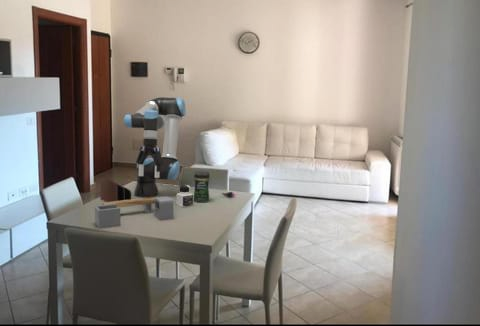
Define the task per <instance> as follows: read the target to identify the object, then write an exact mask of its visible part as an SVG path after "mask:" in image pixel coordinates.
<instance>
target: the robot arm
mask: <svg viewBox="0 0 480 326" xmlns="http://www.w3.org/2000/svg"><path fill="white" fill-rule="evenodd" d="M186 114H187V113H186V103H185V101H184V99H183V98H181V97H162V96H160V97H155V98H152V99H150V100H148V101H147V102H146V103H145V104H144V106H142V108H140V109H139V110H137V111H136V112H134V113H133V114H125V116H124V117H123V124H124V126H125V128H131V129H143V139H142V140H143V143H142V144H143V146H140V149H139V152H138V156H137V158H136V162H135V163H136V185H135V188H134V192H133V193H134V196H135V197H138V198H151V197H153V198H155V197H156V196H157V197H158V196H159V189H158V186H157V183H156V180H162V181H163V180H164V181H165V180H166V181H167V180H168V181H174V180H175V181H176V179H177V178H178V177H179V174H180V169H181V164H180V162H179V159H178V158H177V149H178V148H177V147H178V138H179V128H180V121H182V120H183V117H185V116H186ZM162 116H163V117H162ZM162 128H164V137H163V146H162V153H161V148H160V147H157V146H158V136H159V135H158V132H159V131H158V130H160V129H162ZM148 156H150V157H148Z"/></svg>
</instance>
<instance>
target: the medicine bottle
mask: <svg viewBox="0 0 480 326" xmlns="http://www.w3.org/2000/svg"><path fill="white" fill-rule="evenodd" d="M176 206H178V207H181V208H184V209H185V208H188V207H189V208H190V207H193V206H194V193H191V186H190V185H188V184H183V185H180V186H179V192H178V193H176Z"/></svg>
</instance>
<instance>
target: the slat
mask: <svg viewBox="0 0 480 326" xmlns="http://www.w3.org/2000/svg"><path fill="white" fill-rule="evenodd" d="M110 204H116V207H117V208H124V207H134V206H143V205H145V204H151V205H152V204H154V205H155V197H141V198H136V199H135V198H134V199H132V198H131V200H122V201H113V202H106V201H103V202H102V205H110Z"/></svg>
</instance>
